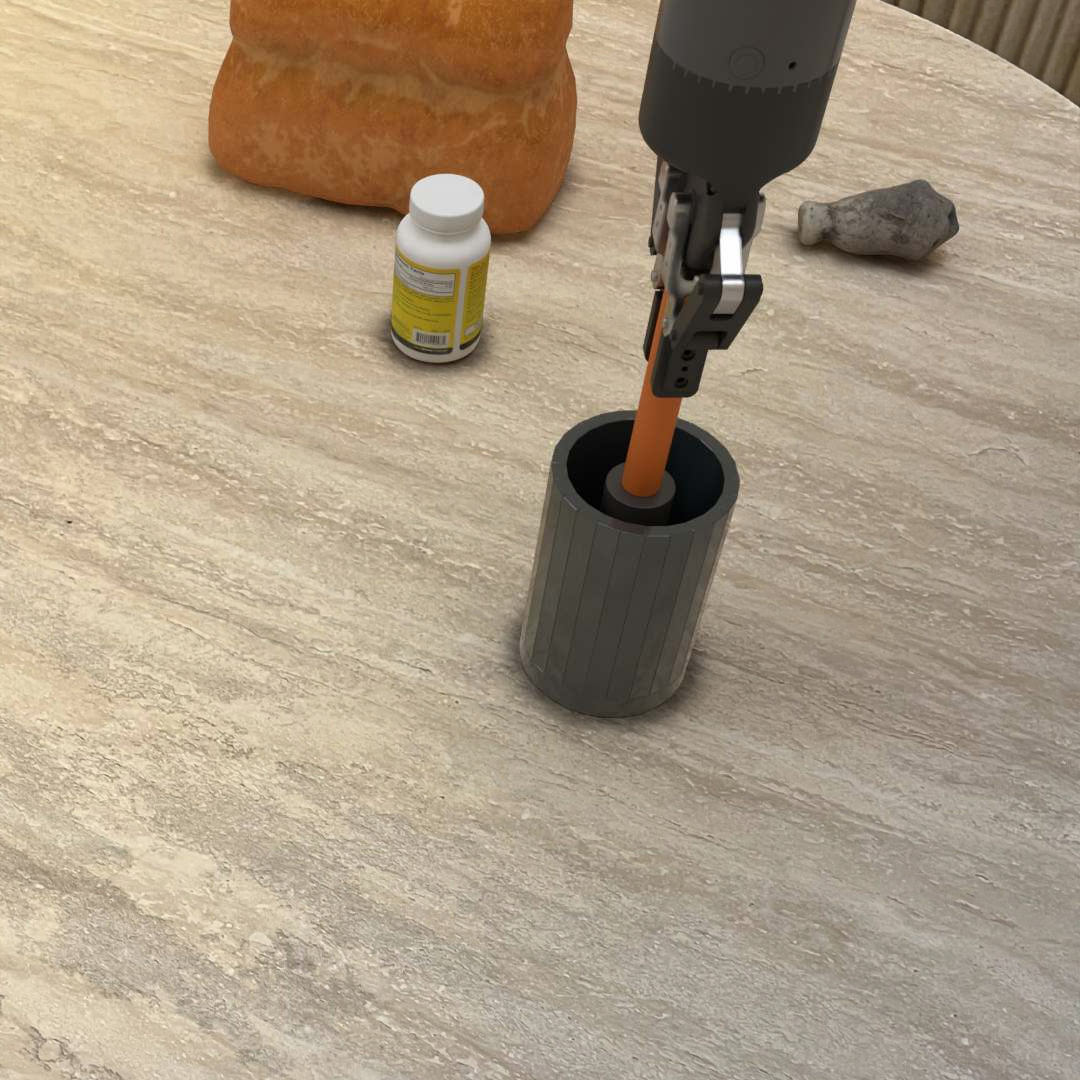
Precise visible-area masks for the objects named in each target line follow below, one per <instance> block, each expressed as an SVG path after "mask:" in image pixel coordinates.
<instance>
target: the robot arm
mask: <svg viewBox="0 0 1080 1080" xmlns="http://www.w3.org/2000/svg"><path fill="white" fill-rule="evenodd" d="M857 2H858V1H857V0H659V6H658V11H657V16H656V22H655V25H654V27H655V28H654V31H653V35H652V36H653V37H652V42H651V47H650V52H649V57H648V61H647V67H646V73H645V78H644V84H643V89H642V95H641V100H640V105H639V111H638V116H637V117H638V128H639V129H638V130H639V133H640V135H641V137H642V139H643V141H644V142H645V144H646V146H647V147H649V149H650V150H651V151H652V152H653V154H654V155H656V156H657V157H656V168H655V179H654V190H653V202H652V213H651V221H650V222H651V224H650V234H649V236H648V241H647V247H648V249H649V253H650V256H656V257H655V260H654V265H653V269H652V270H651V273H650V282H652V284H651V285H652V289H653V290H654V293H653V299H652V303H651V307H650V312H649V317H648V321H647V326H646V330H645V334H644V335H645V336H644V340H643V345H642V350H643V351H642V352H643V355H644V359H645V361H646V362H648V360H649V356H650V351H651V347H652V342H653V338H654V333H655V329H656V324H657V320H658V315H659V311H660V306H661V302H662V298H663V293H664V289H666V292H667V293H668V297H667V302H666V307H665V312H664V317H663V318H662V322H661V327H662V331H661V335H660V339H659V344H658V348H657V353H656V357H655V361H654V366H653V370H652V375H651V379H650V384H651V389H652V393H653V395H654V396H656V397H659V398H682V399H687V398H692V397H694V396H695V395H696V394H697V393H698V391H699V388H700V384H701V380H702V377H703V372H704V368H705V364H706V360H707V357H708V353H709V351H715V350H716V351H728V349H729V348H730V346H731V345H732V343H733V342H734V341H735V340H736V338H737V336H738V335H739V333H740V332H741V330H742V329H743V327H744V326H745V324H746V322H747V321H748V320H749V318H750V317H751V315H752V313H754V311H755V309H756V308H757V306H758V304H759V303H760V301H761V299H762V298H761V297H762V295H763V293H764V283H763V278H762V275H761V274H760V273H746V270H747V266H748V261H749V258H750V252H751V248H752V244H753V241H754V240H755V238H757V237H758V235H759V234H760V233H761V230H762V226H763V222H764V218H765V214H766V205H767V204H766V202H767V201H766V195H765V192H760V191H761V190H762V188H763V187H765V186H766V185H768V184H769V183H770V182H772V181H773V180H775V179H777V178H778V177H781V176H783V175H785V174H787V173H790V172H791V171H793V170H795V169H796V168H798V167H800V165H802V164H803V163H804V162H805V161H806V160H807V159H808V158H809V157H810V155H811V154H812V152H813V151H814V149H815V146H816V145H817V142H818V138H819V136H820V131H821V127H822V125H823V121H824V118H825V114H826V110H827V106H828V104H829V103H828V102H829V100H830V96H831V92H832V89H833V86H834V82H835V78H836V75H837V71H838V68H839V64H840V61H841V57H842V53H843V51H844V48H845V43H846V40H847V37H848V32H849V29H850V26H851V22H852V19H853V15H854V11H855V8H856V6H857V5H856V4H857ZM687 296H689V297H688V299H687V301H686V302H685V304H684V306H683V303H684V299H685V298H686V297H687ZM682 307H683V308H682Z"/></svg>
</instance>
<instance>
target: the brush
mask: <svg viewBox="0 0 1080 1080" xmlns="http://www.w3.org/2000/svg"><path fill="white" fill-rule="evenodd" d="M667 297H668V293H667V292H666V289H664V293H663V298H662V302H661V306H660V311H659V315H658V320H657V324H656V329H655V333H654V338H653V342H652V347H651V351H650V356H649V360H648V361H647V366H646V369H645V374H644V378H643V383H642V387H641V391H640V397H639V401H638V405H637V409H636V410H637V414H636V418H635V423H634V427H633V432H632V436H631V441H630V445H629V450H628V454H627V459H626V462H625V463H622V464H619V465H617V466H615V467H614V468H613V469H612V470H611V471H610V472H609V473H608V475H607V477H606V481H605V486H604V491H603V495H602V500H601V505H600V510H599V511H600V512H601V513H603V514H605V515H607V516H610V517H612V518H615V519H618V520H620V521H623V522H627V523H632V524H638V525H643V526H667V522H668V518H669V514H670V510H671V506H672V502H673V499H674V495H675V490H676V487H675V483H674V480H673V478H672V477H671V475H670V474H669V473H668V472H667V471H665V466H666V462H667V458H668V454H669V450H670V446H671V442H672V438H673V434H674V430H675V426H676V422H677V418H679V413H680V410H681V405H682V402H683V398H659V397H656V396H654V395H653V393H652V389H651V384H650V379H651V375H652V370H653V366H654V361H655V357H656V353H657V348H658V344H659V339H660V335H661V331H662V327H661V322H662V318H663V317H664V312H665V307H666V302H667ZM688 297H689V296H687V297H686V298H685V299H684V303H683V306H684V304H685V302H686V301H687V299H688ZM682 308H683V307H682Z"/></svg>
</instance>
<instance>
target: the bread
mask: <svg viewBox="0 0 1080 1080" xmlns="http://www.w3.org/2000/svg"><path fill="white" fill-rule="evenodd" d="M229 3H230V4H229V21H228V23H229V29H230V33H231V35H232V38H231V42H230V45H229V47H228V49H227V51H226V54H225V56H224V58H223V60H222V63H221V65H220V67H219V71H218V73H217V76H216V79H215V82H214V84H213V87H212V92H211V98H210V103H209V109H208V121H207V123H208V126H207V127H208V129H207V131H208V137H207V138H208V142H207V143H208V148H209V151H210V153H211V155H212V156H213V158H214V159H215V161H216V162H217V164H218V165H219V167H220V168H222V169H223V170H225V171H227V172H229V173H230V174H232V175H234V176H235V177H237V178H239V179H241V180H242V181H245V182H247V183H252V184H256V185H259V186H265V187H271V188H273V187H274V188H282V189H284V190H288V191H290V192H293V193H295V194H299V195H304V196H309V197H315V198H319V199H322V200H326V201H330V202H335V203H339V204H342V205H343V204H344V205H348V206H349V205H350V206H364V207H378V208H380V207H381V208H391V209H393V210H395V211H396V212H399V213H400V214H402V215H404V217H405V216H406V215H407V214H408V213H409V202H410V194H411V190H412V188H413V186H414V185H415V184H416V183H417V182H418V181H420V180H421V179H423V178H426V177H428V176H432V175H437V174H455V175H460V176H464V177H467V178H469V179H471V180H473V181H474V182H476V183H477V184H478V185H479V186H480V187H481V189H482V190H483V193H484V208H483V215H482V218H483V219H484V221H485V222H486V224H487V225H488V228H489V231H490V235H496V236H497V235H504V234H513V233H518V232H519V233H520V232H524V231H527V230H531V229H532V227H533V226H535V224H536V223H537V222H538V221H539V220H540V219H541V218H542V217H543V216H544V215H545V214H546V213H547V211H548V209H549V207H550V206H551V204H552V202H553V201H554V199H555V197H556V196H557V193H558V192H559V190H560V188H561V186H562V184H563V182H564V179H565V175H566V173H567V168H568V166H569V162H570V159H571V154H572V151H573V146H574V141H575V134H576V128H577V110H578V92H577V82H576V81H577V80H576V75H575V73H574V69H573V67H572V62H571V60H570V57H569V56H570V55H569V52H568V49H567V42H568V39H569V36H570V34H571V31H572V29H573V22H574V21H573V20H574V0H230V2H229Z"/></svg>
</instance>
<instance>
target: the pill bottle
mask: <svg viewBox="0 0 1080 1080" xmlns="http://www.w3.org/2000/svg"><path fill="white" fill-rule="evenodd" d="M483 208H484V193H483V190H482V189H481V187H480V186H479V185H478V184H477V183H476V182H474V181H473V180H471V179H469V178H467V177H464V176H460V175H455V174H437V175H432V176H428V177H426V178H423V179H421V180H420V181H418V182H417V183H416V184H415V185H414V186H413V188H412V190H411V194H410V202H409V213H408V214H407V215H406V216H405V215H404V217H403V218H402V220H401V221H400V222H399V225H398V227H397V230H396V234H395V242H394V243H395V247H394V262H393V278H392V295H391V310H390V311H391V313H390V334H391V335H390V336H391V338H392V340H393V343H394V345H396V347H397V348H398V349H399V350H400V351H401V352H402V353H403V354H405V355H406V356H408V357H409V358H411V359H414V360H417V361H419V362H420V361H421V362H426V363H432V364H433V363H434V364H436V363H449V362H454V361H457V360H460V359H463V358H464V357H467V356H468V355H469V354H471V353H472V352H473V351H474V350H475V349H476V347H477V346H478V343H479V341H480V339H481V334H482V328H483V318H484V309H485V302H486V301H485V300H486V299H485V298H486V291H487V283H488V282H487V281H488V274H489V264H490V257H491V245H492V236H491V235H492V234H491V233H490V231H489V228H488V225H487V224H486V222H485V221H484V219H483V218H482V215H483Z"/></svg>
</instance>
